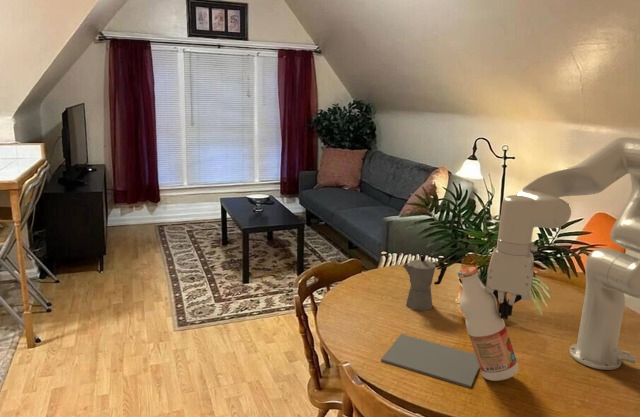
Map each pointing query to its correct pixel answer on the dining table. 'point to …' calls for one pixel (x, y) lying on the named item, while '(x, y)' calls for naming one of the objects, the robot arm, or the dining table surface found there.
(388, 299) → the dining table surface
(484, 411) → the dining table surface
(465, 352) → the mat
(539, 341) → the dining table surface
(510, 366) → the fruit juice
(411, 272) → the coffeepot
